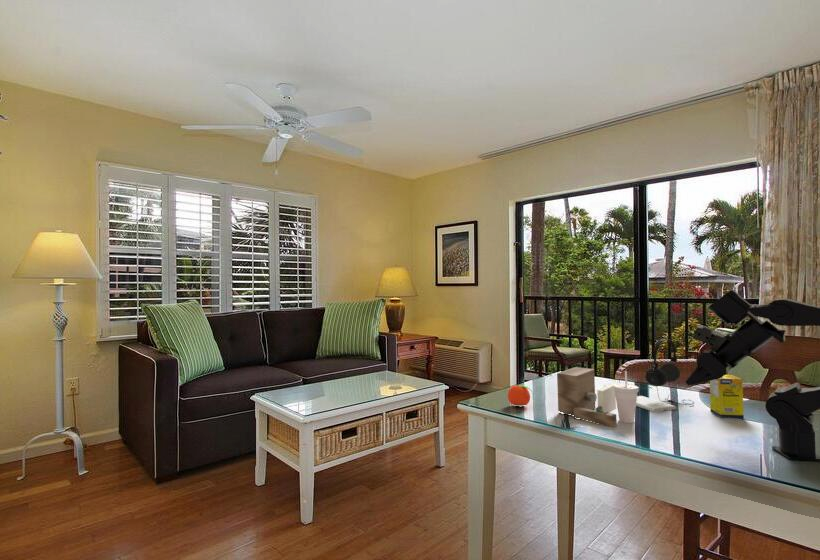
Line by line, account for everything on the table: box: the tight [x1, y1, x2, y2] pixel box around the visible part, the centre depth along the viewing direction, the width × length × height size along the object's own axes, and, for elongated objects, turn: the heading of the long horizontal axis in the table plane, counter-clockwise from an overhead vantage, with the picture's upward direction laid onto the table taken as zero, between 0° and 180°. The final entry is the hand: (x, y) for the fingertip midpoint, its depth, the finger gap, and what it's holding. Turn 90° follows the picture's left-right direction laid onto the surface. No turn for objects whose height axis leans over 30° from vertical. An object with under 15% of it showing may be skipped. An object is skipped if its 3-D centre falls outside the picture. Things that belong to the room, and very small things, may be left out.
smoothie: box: [612, 370, 640, 424], centre depth 120 cm, size 6×6×14 cm
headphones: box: [645, 338, 694, 407], centre depth 136 cm, size 15×11×20 cm
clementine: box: [507, 384, 534, 406], centre depth 136 cm, size 8×7×7 cm
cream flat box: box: [595, 383, 617, 413], centre depth 123 cm, size 2×11×7 cm, turn 134°
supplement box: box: [709, 374, 745, 419], centre depth 123 cm, size 6×6×11 cm
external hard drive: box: [636, 395, 677, 413], centre depth 134 cm, size 2×8×12 cm
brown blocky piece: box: [556, 366, 618, 428], centre depth 126 cm, size 16×14×12 cm
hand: (692, 380), depth 108 cm, fingers open, 9 cm apart
